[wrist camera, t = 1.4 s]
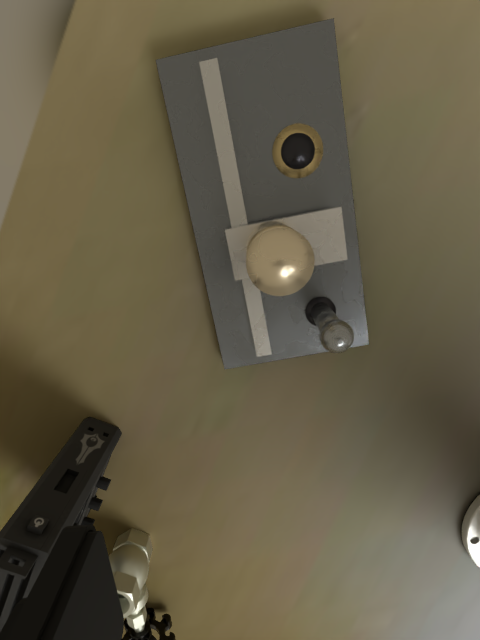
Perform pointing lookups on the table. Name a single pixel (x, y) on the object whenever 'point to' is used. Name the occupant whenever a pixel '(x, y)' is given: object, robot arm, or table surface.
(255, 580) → the table surface
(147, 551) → the valve
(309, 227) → the sliding carriage with knob
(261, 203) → the plate
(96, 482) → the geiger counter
